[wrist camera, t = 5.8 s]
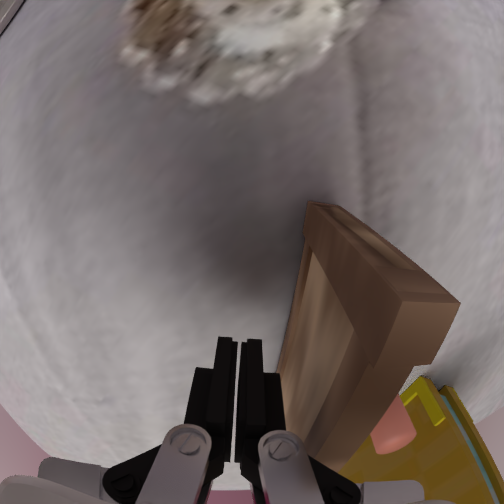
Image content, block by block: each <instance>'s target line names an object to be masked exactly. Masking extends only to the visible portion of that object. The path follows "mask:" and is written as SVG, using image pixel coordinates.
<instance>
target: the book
mask: <svg viewBox="0 0 504 504" xmlns="http://www.w3.org/2000/svg"><path fill="white" fill-rule="evenodd" d="M400 398H401V400H402V402H403V404H404V407H405V409H406V411H407V413H408V415H409V417H410V419H411V422H412V424H413V426H414V428H415V430H416V433H417V434H416V436H415V438H414V439H413V440H412V441H411V442H410V443H409V444H407V445H406V446H404V447H403V448H401V449H399V450H397V451H394V452H391V453H388V454H377V453H376V451H375V447H374V444H373V441H372V438H371V435H369V436H368V437H367V438H366V440H365V441H364V442H363V444H362V445H361V446H360V447H359V449H358V450H357V451H356V452H355V453H354V455H353V456H352V457H351V458H350V459H349V461H348V462H347V463H346V464H345V465H344V466H343V467H342V469H341V470H340V471H339V472H338V474H340V475H342V476H344V477H345V478H347V479H349V480H351V481H352V482H354V483H360V484H362V483H364V482H381V481H400V480H415V481H417V482H419V483H420V484H421V485H422V487H423V490H424V499H425V500H446V501H451V502H454V503H456V504H504V481H503V479H502V477H501V475H500V472H499V470H498V468H497V466H496V464H495V462H494V460H493V458H492V456H491V454H490V453H489V451H488V449H487V447H486V445H485V443H484V441H483V440H482V438H481V436H480V434H479V432H478V431H477V429H476V427H475V425H474V424H473V420H472V418H471V417H470V415H469V413H468V412H467V410H466V408H465V407H464V405H463V403H462V402H461V400H460V399H459V397H458V395H457V393H456V392H455V390H454V389H453V388H452V387H449V386H446V385H445V386H444V387H443V388H442V389H441V390H440V391H439V392H438V391H437V389H436V387H435V386H434V384H433V382H432V381H431V380H429V379H427V378H424V377H422V376H420V377H419V378H418V379H417V380H416V381H415V382H414V383H413V384H412V385H411V386H410V387H409V388H408V389H407V390H405V391H404V392H403V393H402V394H401V395H400Z"/></svg>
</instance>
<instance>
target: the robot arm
mask: <svg viewBox="0 0 504 504" xmlns="http://www.w3.org/2000/svg"><path fill="white" fill-rule="evenodd" d="M23 1H24V0H0V34H1V33H2V31H3V30H4V29H5V27H6V26H7V25H8V23H9V22H10V20H11V19H12V17H13V16H14V14H15V13H16V12H17V10H18V9H19V7H20V5H21V4H22V2H23ZM237 346H238V342H235V341H232V338H231V337H220V336H219V337H218V342H217V348H216V355H215V361H214V368H213V369H209V368H199V367H196V369H195V373H194V378H193V382H192V387H191V391H190V396H189V401H188V405H187V410H186V415H185V420H184V424H181V425H178V426H175V427H173V428H172V429H171V430H169V432H168V433H167V434H166V436H165V438H164V441H163V443H162V444H161V445H159V446H157V447H155V448H153V449H151V450H149V451H147V452H145V453H142V454H140V455H138V456H136V457H134V458H132V459H129V460H127V461H125V462H122V463H120V464H118V465H115V466H113V467H111V468H104V467H101V466H100V465H94V464H87V463H81V462H75V461H70V460H65V459H60V458H56V457H49V458H46V459H44V460H43V461H42V462H41V464H40V466H39V472H38V477H33V476H25V475H14V476H10V477H7V478H6V479H4V480H3V481H2V482H1V484H0V504H207V501H208V497H209V494H210V491H211V487H212V484H213V479H215V478H217V477H218V476H220V475H221V474H223V468H224V462H230V456H231V442H232V429H233V413H234V396H235V379H236V362H237ZM234 462H236V463H240V469H241V475H242V476H243V477H245V478H246V479H247V480H248V481H249V482H250V488H251V493H252V499H253V504H456V503H454V502H451V501H446V500H425V499H424V490H423V487H422V485H421V484H420V483H419V482H417V481H415V480H400V481H381V482H364V483H362V484H360V483H354V482H352V481H351V480H349V479H347V478H345V477H344V476H342V475H340V474H338V473H337V472H335V471H333V470H332V469H330V468H328V467H327V466H325V465H323V464H322V463H320V462H319V461H317V460H315V459H314V458H312V457H311V456H309V455H308V454H307V452H306V449H305V446H304V444H303V442H302V440H301V439H300V438H299V437H298V436H297V435H296V434H294V433H292V432H290V431H286V423H285V414H284V404H283V395H282V387H281V378H280V374H279V373H263V354H262V340H260V339H247V342H242V345H241V356H240V368H239V380H238V393H237V414H236V436H235V460H234Z"/></svg>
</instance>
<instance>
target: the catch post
mask: <svg viewBox="0 0 504 504" xmlns="http://www.w3.org/2000/svg"><path fill="white" fill-rule="evenodd" d="M416 434H417V433H416V430H415V428H414V426H413V424H412V422H411V419H410V417H409V415H408V413H407V411H406V409H405V407H404V404H403V402H402V400H401V398H400V396H399V394H397V396H396V397H395V399H394V400H393V402H392V403H391V405H390V406H389V408H388V409H387V411H386V412H385V414H384V415H383V417H382V418H381V419H380V421H379V422H378V424H377V425H376V426H375V428H374V429H373V431H372V432H371V433H370V435H371V438H372V441H373V444H374V447H375V451H376V453H377V454H388V453H391V452H394V451H397V450H399V449H401V448H403V447H404V446H406V445H407V444H409V443H410V442H411V441H412V440H413V439H414V438H415V436H416Z"/></svg>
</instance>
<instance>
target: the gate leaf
mask: <svg viewBox="0 0 504 504" xmlns="http://www.w3.org/2000/svg"><path fill="white" fill-rule="evenodd" d="M303 235H304V237H305V244H304V249H303V254H302V259H301V264H300V269H299V274H298V279H297V284H296V289H295V294H294V299H293V303H292V308H291V312H290V317H289V321H288V326H287V330H286V335H285V339H284V343H283V347H282V351H281V356H280V360H279V364H278V368H277V372H276V373H279V374H280V378H281V387H282V395H283V404H284V414H285V423H286V431H290V432H292V433H294V434H296V435H297V436H298V437H299V438H300V439H301V440H302V442H303V444H304V446H305V449H306V452H307V454H308V455H309V456H311V457H312V458H314V459H315V460H317V461H319V462H320V463H322V464H323V465H325V466H327V467H328V468H330V469H332V470H333V471H335V472H337V473H338V472H339V471H340V470H341V469H342V467H343V466H344V465H345V464H346V463H347V462H348V461H349V459H350V458H351V457H352V456H353V455H354V453H355V452H356V451H357V450H358V449H359V447H360V446H361V445H362V444H363V442H364V441H365V440H366V438H367V437H368V436H369V435H370V433H371V432H372V431H373V429H374V428H375V426H376V425H377V424H378V422H379V421H380V419H381V418H382V417H383V415H384V414H385V412H386V411H387V409H388V408H389V406H390V405H391V403H392V402H393V400H394V399H395V397H396V396H397V394H398V392H399V391H400V389H401V388H402V386H403V384H404V383H405V381H406V379H407V378H408V376H409V374H410V372H411V371H412V369H413V367H414V366H419V365H428V364H431V363H432V361H433V360H434V358H435V356H436V354H437V352H438V350H439V349H440V347H441V345H442V343H443V341H444V339H445V337H446V335H447V333H448V331H449V329H450V327H451V324H452V322H453V320H454V318H455V316H456V313H457V311H458V309H459V307H460V304H461V303H460V302H459V301H458V300H457V299H456V298H455V297H454V296H452V295H451V294H450V293H449V292H448V291H447V290H446V289H445V288H444V287H442V286H441V285H440V284H439V283H438V282H437V281H436V280H434V279H433V278H432V277H431V276H430V275H429V274H428V273H426V272H425V271H424V270H423V269H422V268H420V267H419V266H418V265H417V264H416V263H414V262H413V261H412V260H411V259H410V258H408V257H407V256H406V255H405V254H403V253H402V252H401V251H400V250H398V249H397V248H396V247H395V246H393V245H392V244H391V243H389V242H388V241H387V240H386V239H384V238H383V237H382V236H380V235H379V234H378V233H376V232H375V231H374V230H372V229H371V228H370V227H368V226H367V225H366V224H364V223H363V222H362V221H360V220H359V219H357V218H356V217H355V216H353V215H352V214H350V213H349V212H348V211H346V210H345V209H343V208H342V207H341V206H338V205H332V204H325V203H319V202H312V201H308V204H307V210H306V216H305V221H304V227H303Z"/></svg>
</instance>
